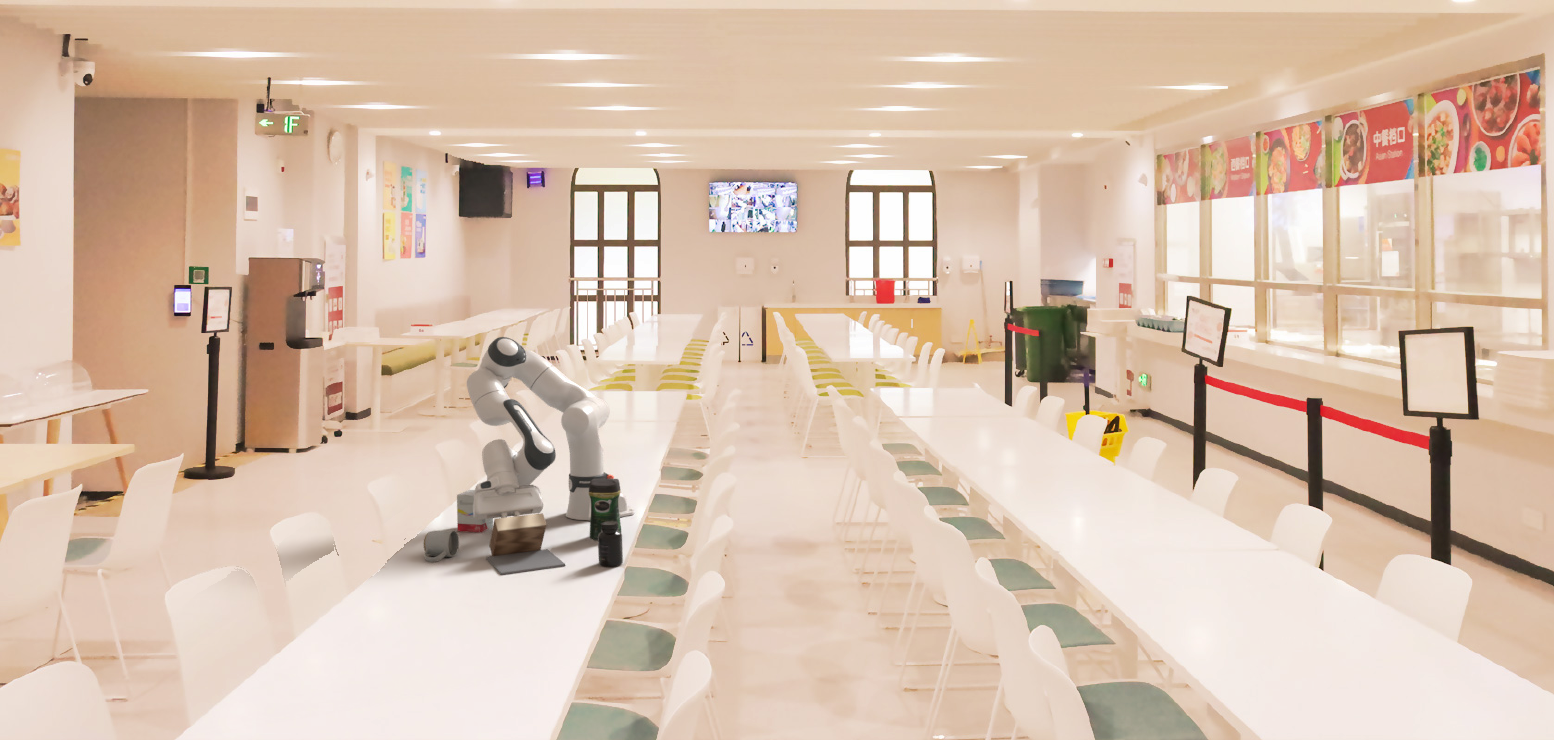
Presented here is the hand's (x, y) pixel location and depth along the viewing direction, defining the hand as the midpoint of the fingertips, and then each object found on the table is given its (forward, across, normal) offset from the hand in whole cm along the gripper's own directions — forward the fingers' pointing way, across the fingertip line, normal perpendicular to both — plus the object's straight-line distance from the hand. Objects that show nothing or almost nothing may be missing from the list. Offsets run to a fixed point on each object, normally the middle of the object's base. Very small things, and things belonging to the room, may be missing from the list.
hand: (513, 527), depth 316 cm
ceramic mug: (+1, +20, -10) cm, 22 cm away
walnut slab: (+4, -1, -5) cm, 7 cm away
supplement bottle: (+22, -22, +10) cm, 33 cm away
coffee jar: (+3, -30, -9) cm, 31 cm away
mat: (+13, -1, +2) cm, 13 cm away
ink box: (-18, +4, -29) cm, 34 cm away
